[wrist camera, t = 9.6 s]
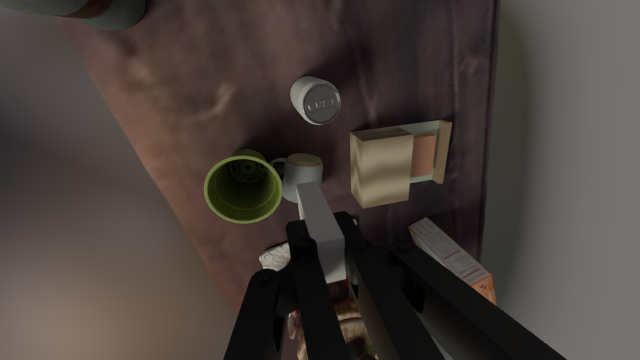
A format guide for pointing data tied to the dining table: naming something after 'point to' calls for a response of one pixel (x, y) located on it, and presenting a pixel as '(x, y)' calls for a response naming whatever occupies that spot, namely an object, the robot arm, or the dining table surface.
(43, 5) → the bottle
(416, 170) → the orange rectangular slab
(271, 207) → the plant pot
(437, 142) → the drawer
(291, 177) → the ceramic mug
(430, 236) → the cracker box
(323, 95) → the can
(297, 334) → the cookie jar
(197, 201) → the dining table surface
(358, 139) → the beige rectangular slab
